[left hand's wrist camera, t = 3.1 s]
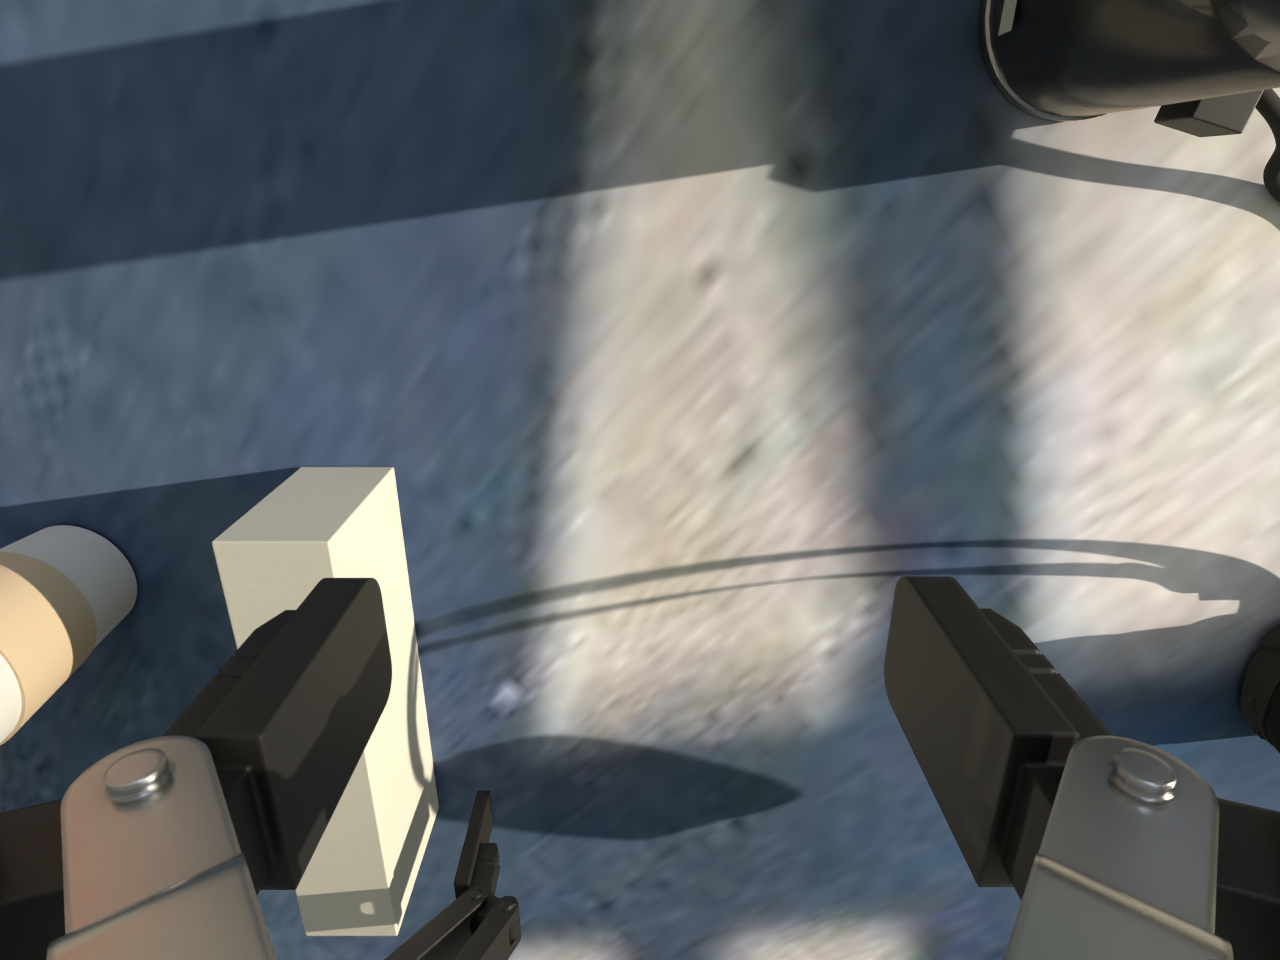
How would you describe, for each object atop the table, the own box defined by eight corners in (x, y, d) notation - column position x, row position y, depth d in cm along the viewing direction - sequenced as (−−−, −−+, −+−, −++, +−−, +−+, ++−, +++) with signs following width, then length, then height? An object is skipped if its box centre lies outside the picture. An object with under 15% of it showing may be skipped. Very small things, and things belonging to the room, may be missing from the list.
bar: (300, 466, 42) (210, 541, 33) (394, 466, 42) (328, 541, 33) (363, 807, 51) (305, 936, 42) (439, 807, 51) (397, 936, 42)
